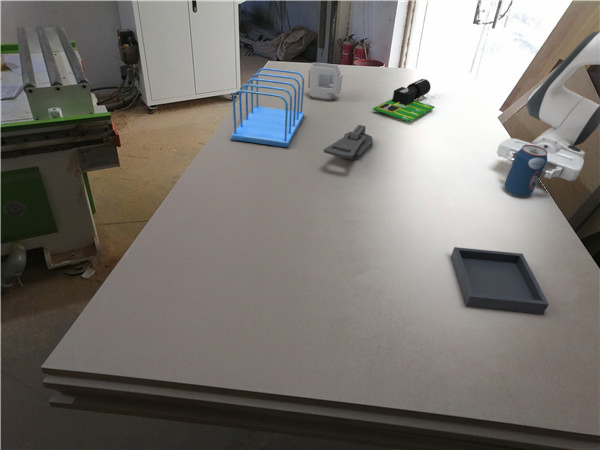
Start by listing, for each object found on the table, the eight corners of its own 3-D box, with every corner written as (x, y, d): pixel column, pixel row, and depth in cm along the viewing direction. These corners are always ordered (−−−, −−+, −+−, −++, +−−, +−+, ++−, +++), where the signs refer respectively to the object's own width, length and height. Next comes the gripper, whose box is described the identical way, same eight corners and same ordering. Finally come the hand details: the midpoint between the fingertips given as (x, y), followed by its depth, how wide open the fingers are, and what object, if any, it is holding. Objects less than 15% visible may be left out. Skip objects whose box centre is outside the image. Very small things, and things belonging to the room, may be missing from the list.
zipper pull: (320, 149, 105) (349, 116, 124) (318, 171, 109) (347, 136, 128) (353, 156, 103) (378, 122, 121) (350, 179, 107) (374, 142, 125)
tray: (517, 263, 83) (522, 253, 81) (543, 314, 72) (549, 304, 70) (450, 256, 84) (454, 246, 82) (465, 306, 73) (470, 296, 71)
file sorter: (287, 148, 119) (289, 97, 110) (231, 141, 122) (228, 90, 112) (304, 117, 139) (306, 71, 130) (255, 111, 141) (254, 65, 132)
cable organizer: (337, 102, 151) (341, 70, 144) (305, 98, 153) (307, 65, 146) (340, 97, 156) (344, 65, 149) (309, 92, 159) (311, 61, 151)
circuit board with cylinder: (413, 105, 133) (374, 93, 141) (409, 125, 137) (371, 112, 145) (451, 85, 152) (415, 76, 159) (446, 103, 156) (411, 93, 164)
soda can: (530, 201, 102) (550, 159, 95) (501, 194, 104) (519, 152, 97) (531, 188, 107) (550, 147, 100) (503, 182, 109) (520, 141, 102)
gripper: (512, 128, 114) (492, 143, 106) (592, 153, 103) (577, 171, 95) (504, 149, 118) (484, 164, 110) (580, 175, 107) (565, 194, 99)
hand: (528, 168), depth 102 cm, fingers open, 8 cm apart
